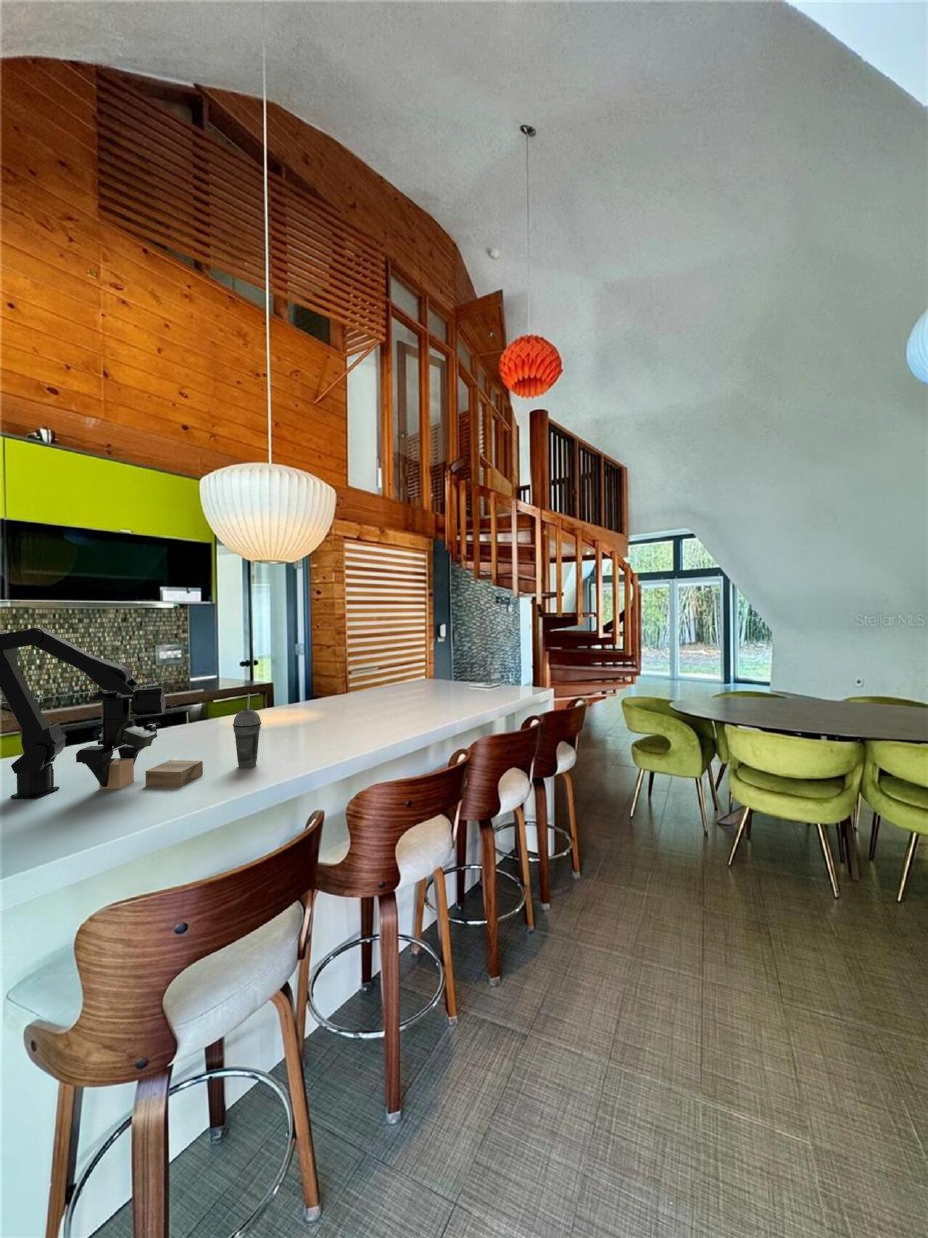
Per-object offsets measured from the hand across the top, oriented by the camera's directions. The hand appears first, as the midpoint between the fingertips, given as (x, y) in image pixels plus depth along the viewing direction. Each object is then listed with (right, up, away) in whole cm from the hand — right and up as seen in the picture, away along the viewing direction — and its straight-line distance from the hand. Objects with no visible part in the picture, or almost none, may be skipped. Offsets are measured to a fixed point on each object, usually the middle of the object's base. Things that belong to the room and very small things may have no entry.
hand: (116, 781), depth 125 cm
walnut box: (+12, -1, +4) cm, 13 cm away
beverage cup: (+25, -1, +16) cm, 30 cm away
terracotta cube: (0, -1, 0) cm, 1 cm away
